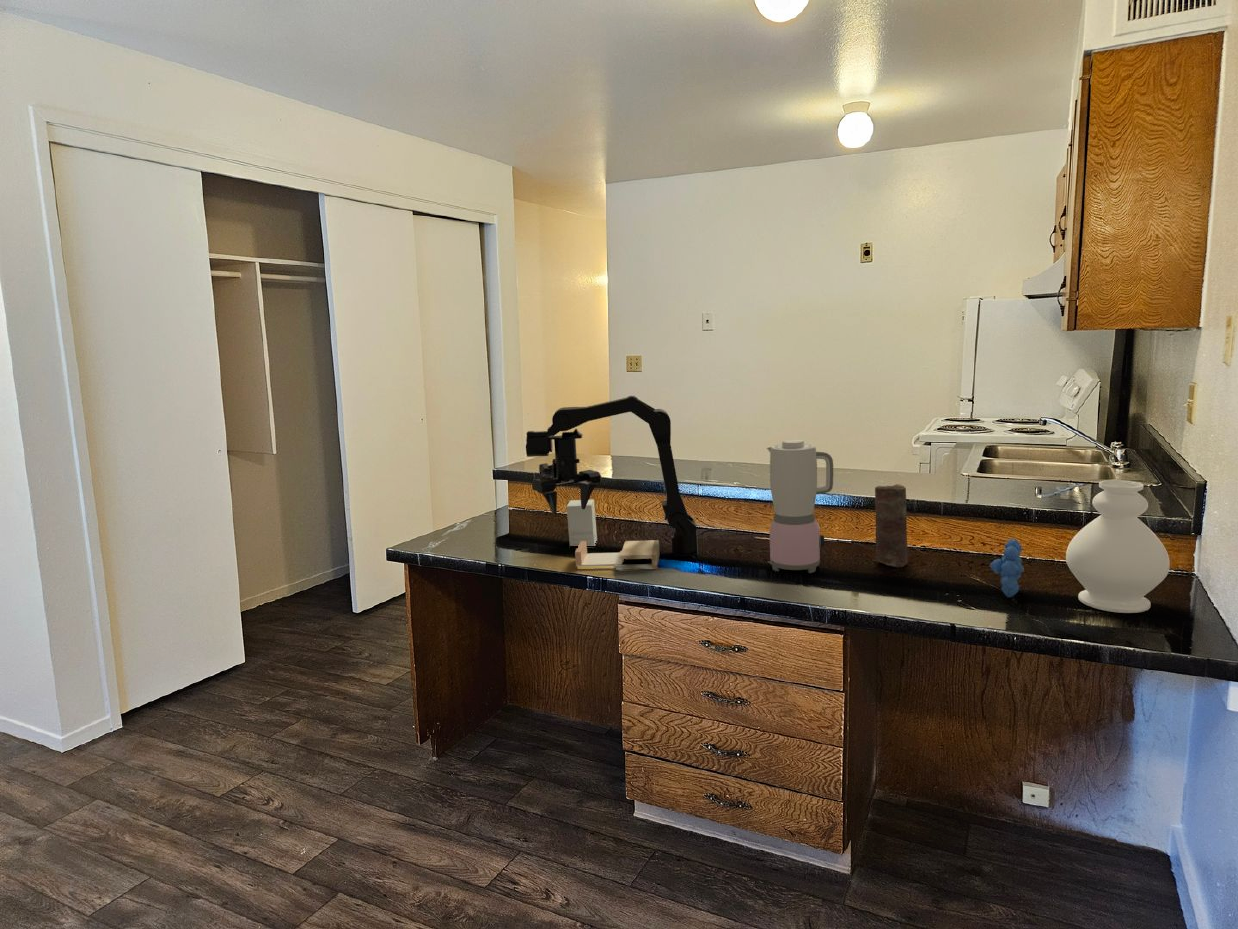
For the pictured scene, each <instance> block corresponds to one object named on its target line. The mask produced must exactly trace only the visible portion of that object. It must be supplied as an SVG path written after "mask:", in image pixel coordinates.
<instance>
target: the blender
mask: <svg viewBox="0 0 1238 929" xmlns="http://www.w3.org/2000/svg"><path fill="white" fill-rule="evenodd" d="M781 442H782V443H780V444H775V445H772V446H771V447H770V446H769V447H767V448H766V449H767V451H768V452H769V454H770V455H769V456H770V457H769V483H770V485H769V486H770V494H771V498H772V505H773V511H774V515H773V519H772V521H771V523H770V526H769V551H770V552H769V555H770V556H769V563H770V565H771V566H772V570H773V571H774V570H775V571H774V572H776V571H777V573H778V572H780V569H781V570H789V571H803V570H807V573H808V574H813V573H814V572H816V570H817V567H818V566H819V565H820V563H821V558H820V557H821V556H820V555H821V552H820V550H821V547H824V546H825V535H824V534H821V533H820V531H821V527H820V524H818V521H817V519H816V517H815V504H816V498H817V495H822V494H827V493H829V492H831V491H832V490H833V489H834V488H833V487H834V460H833V459H834V458H832V456H831V454H829V453H828V452H824V451H817V448H816V446H815V445H814V444H812V443H805V442H804V440H803V439H785V440H782V441H781ZM818 460H824V461H825V485H823V486H818Z"/></svg>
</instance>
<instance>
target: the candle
mask: <svg viewBox="0 0 1238 929" xmlns="http://www.w3.org/2000/svg"><path fill="white" fill-rule="evenodd" d="M874 496H875V497H874V507H875V509H874V510H875V559H876V561H878V563H881V564H884V565H886V566H890V567H894V568H899V567H900V568H903V567H905V566H906V565H908V535H907V534H908V532H907V529H908V528H907V527H908V525H907V523H908V522H907V488H906V487H905V485H902V484H898V483H897V484H896V483H895V484H893V485H877V486H875V487H874Z"/></svg>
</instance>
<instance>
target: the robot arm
mask: <svg viewBox="0 0 1238 929" xmlns="http://www.w3.org/2000/svg"><path fill="white" fill-rule="evenodd" d="M627 413H632V414H633V415H634V416H636V417H638V418H639V419H641V420H642V421H643V422H645V423H647V424H648V426H649V428H650V431H651V434H652V436H653V439H654V442H655V445H656V446H657V453H658V457H659V458H658V459H659V464H660V468H661V473H662V478H663V485H664V489H665V495H666V496H665V500H660V501H661V506H662V509H663V519H664V521H667V524H668V525H669V526H670V527H671V528H672V529H673V535H672V536H671V551H672V553H673V556H674V557H694V556H695V557H696V556H697V557H698V556H699V546H698V526H697V524H696V521H695V519H694V518H693V517H692V516H691V515H690V514H689V513H688V510H687V508H686V506H685V503H684V500H683V498H682V495H681V491H680V488H679V481H678V477H677V472H676V467H675V466H676V464H675V461H674V457H673V449H672V445H671V444H672V442H671V436H672V435H671V434H672V432H671V431H672V425H671V424H672V423H671V418H670V415H669V413H668V412H667V411H666V410H664V409H662V408H654V407H652V406H651V405H649V404H647V403H646V402H644V401H642V400H641V399H639V398H638V397H637V396H635V395H629V396H627V397H624V398H619V399H614V400H609V401H605V402H601V403H596V404H593V405H592V404H591V405H588V406H568V407H567V406H565V407H560V408H558V409H557V410H556V411H555V412H554V414H553V415H552V418H551V421H552V422H551V423H552V424H551V426H548V428H547V430H546V431H545V430H542V431H533V430H528V431H527V432H526V438H525V439H526V440H525V442H526V444H525V453H526V457H528V458H532V457H533V458H536V457H549V455H550V453H553V451H554V458H552V464H550V465H549V464H548V463H547V462H546V463H541V464H538V472H539V475H540V478H534V479H533V481H532V484H531V485H532V486H531V487H532V489H531V490H532V491H535V492H537V493H538V494H541V495H542V496H544V498H545V501H546V502H547V505H548V506H549V509H550V511H551V514H552V515H553V516H556V515H557V511H558V508H557V507H558V492H557V491H555V490H556V489H557V487H560V486H566V485H570V484H571V485H572V484H578V487H579V490H580V492H579V493H580V500H581V508H582V509H585V508H586V505H587V503H588V500H590V498H591V495H592V494H593V492H594V490H595V487H597V486H598V483H601V482H602V475H601V473H600V471H596V470H592V469H585V470H581V471H579V472H578V464H579V463H580V459H579V458H578V457H577V442H576V440H577V439H582V438H583V434H582V433H581V432H580V431H579V429H578V428H577V427H578V426H581V425H583V424H585V423H588V422H591V421H596V420H601V419H604V418H608V417H609V418H610V417H612V416H617V415H618V416H619V415H622V414H627ZM572 429H574V430H572ZM570 430H572V431H570ZM560 432H561V435H557V434H559V433H560ZM553 445H554V448H553Z"/></svg>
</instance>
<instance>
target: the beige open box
mask: <svg viewBox="0 0 1238 929" xmlns="http://www.w3.org/2000/svg"><path fill="white" fill-rule="evenodd" d="M619 553H621V555H620V557H621V559H625V560H642V559H643V560H644V559H646V560H649V559H650V560H651V563H645V564H643V563H641V564H639V563H636V564H633V563H632V564H623V565H615V568H621V569H657V570H658V566H659V558H660V541H659V539H655V540H625V541H624V543H623V547H622V549H621V550H620V551H619ZM657 565H658V566H657Z"/></svg>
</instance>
